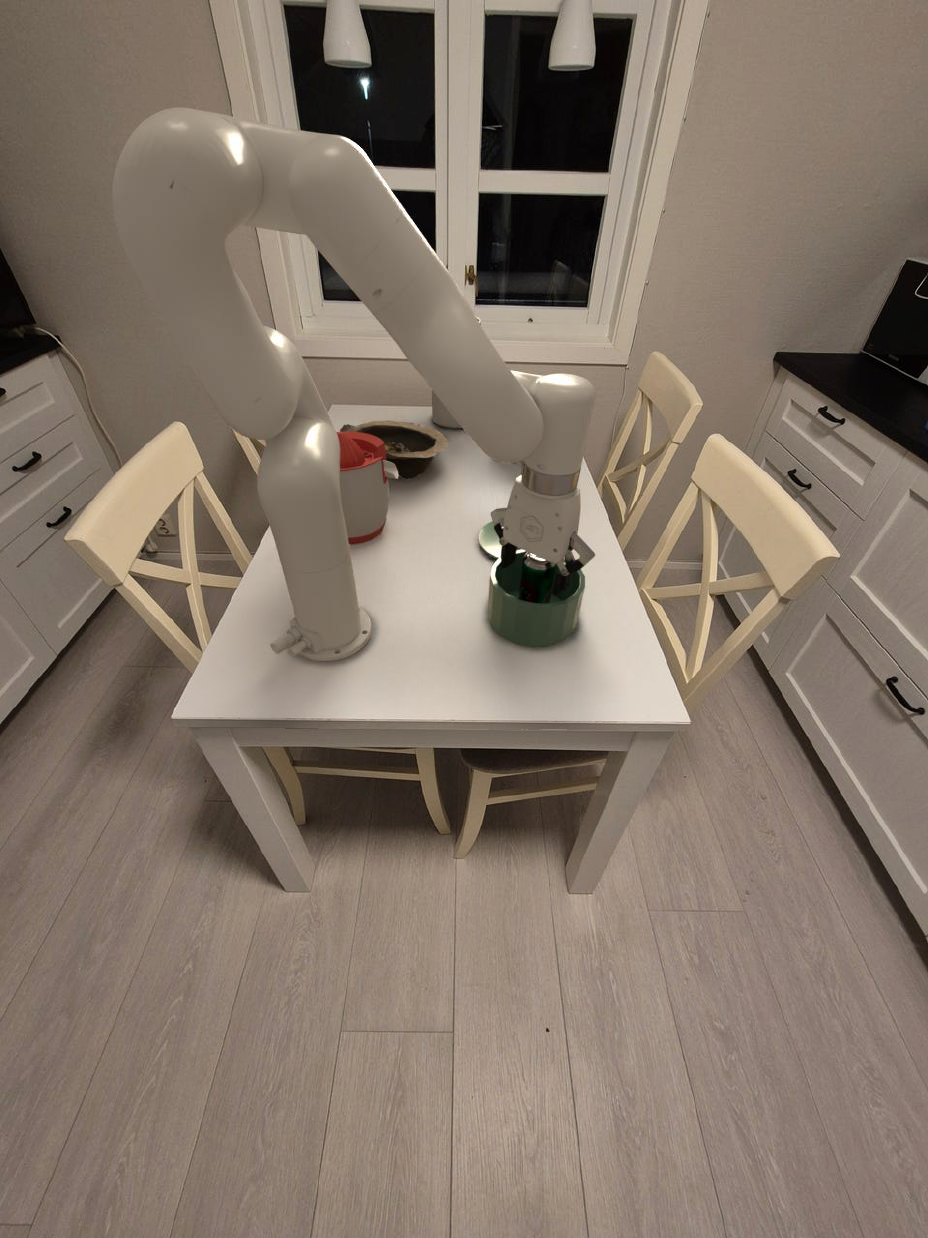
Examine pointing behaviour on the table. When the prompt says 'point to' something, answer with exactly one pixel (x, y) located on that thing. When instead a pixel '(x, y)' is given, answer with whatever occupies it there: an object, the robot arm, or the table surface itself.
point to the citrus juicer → (364, 485)
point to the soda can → (536, 579)
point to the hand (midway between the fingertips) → (533, 577)
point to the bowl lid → (490, 541)
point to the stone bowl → (405, 444)
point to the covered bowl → (532, 608)
